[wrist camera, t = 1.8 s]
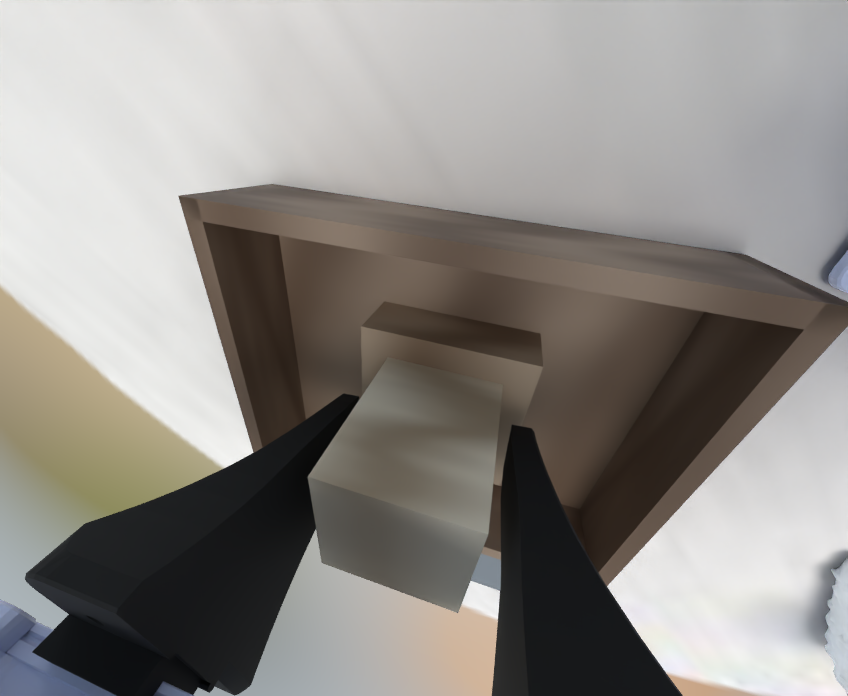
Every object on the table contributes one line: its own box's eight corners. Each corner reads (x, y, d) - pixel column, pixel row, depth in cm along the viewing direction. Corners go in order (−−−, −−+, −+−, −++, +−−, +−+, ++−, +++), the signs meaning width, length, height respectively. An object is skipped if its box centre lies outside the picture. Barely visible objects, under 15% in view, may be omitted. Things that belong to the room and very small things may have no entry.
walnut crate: (745, 254, 10) (863, 309, 6) (585, 505, 17) (600, 593, 13) (271, 183, 12) (178, 195, 9) (307, 424, 19) (261, 480, 16)
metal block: (503, 384, 10) (488, 534, 6) (479, 462, 13) (457, 613, 9) (387, 357, 11) (307, 476, 7) (384, 435, 13) (321, 562, 9)
